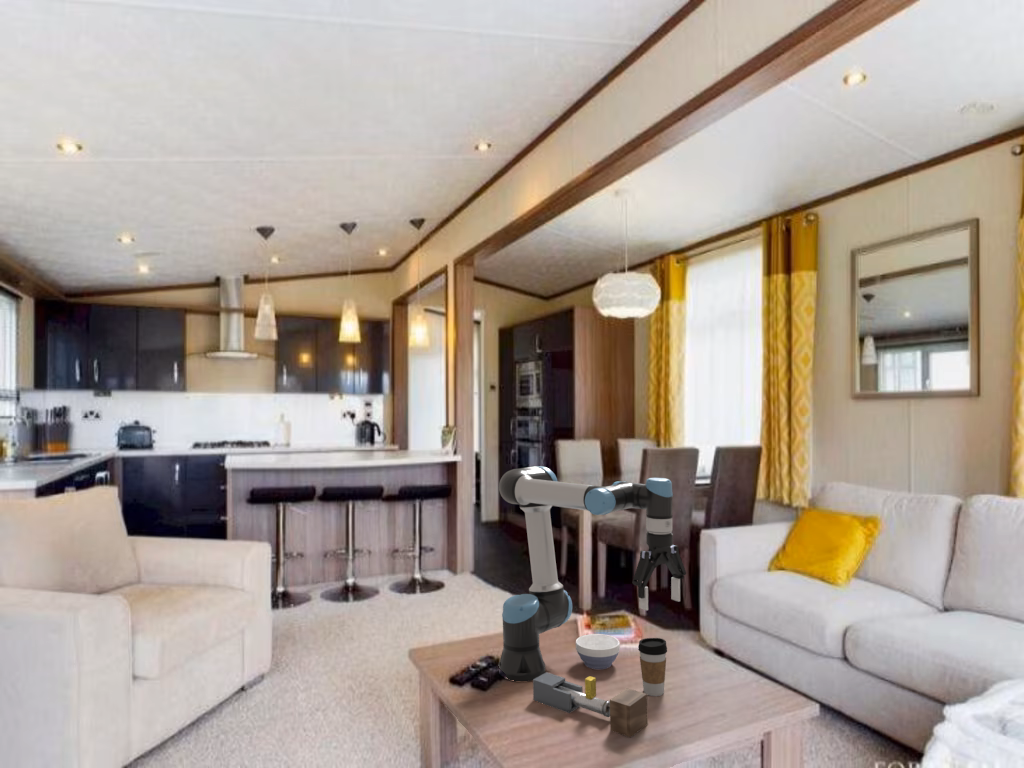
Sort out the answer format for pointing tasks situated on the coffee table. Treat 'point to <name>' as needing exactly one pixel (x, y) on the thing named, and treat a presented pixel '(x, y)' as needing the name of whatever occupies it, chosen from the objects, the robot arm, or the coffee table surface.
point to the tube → (588, 698)
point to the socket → (628, 712)
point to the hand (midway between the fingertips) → (660, 604)
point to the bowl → (597, 650)
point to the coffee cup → (653, 665)
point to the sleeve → (554, 692)
